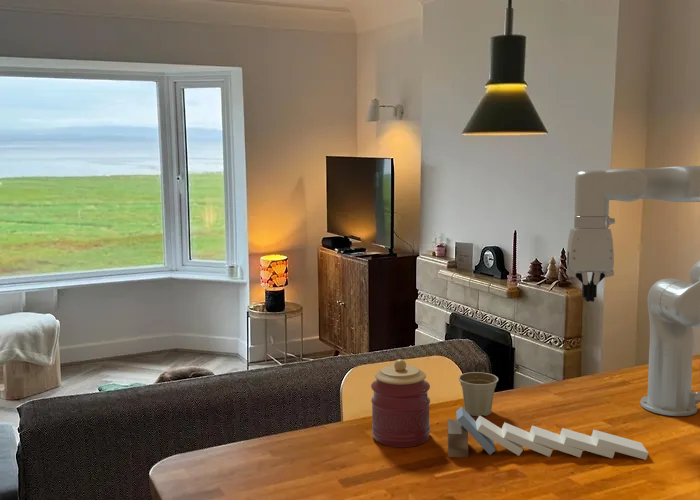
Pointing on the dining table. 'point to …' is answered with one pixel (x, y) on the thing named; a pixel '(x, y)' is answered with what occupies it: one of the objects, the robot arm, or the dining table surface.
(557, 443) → the tile
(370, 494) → the dining table surface
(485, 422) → the tile
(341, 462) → the dining table surface
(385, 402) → the canister
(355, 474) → the dining table surface
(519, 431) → the tile
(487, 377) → the flower pot
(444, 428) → the dining table surface
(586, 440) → the tile
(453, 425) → the end block
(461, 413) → the tile
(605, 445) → the tile
